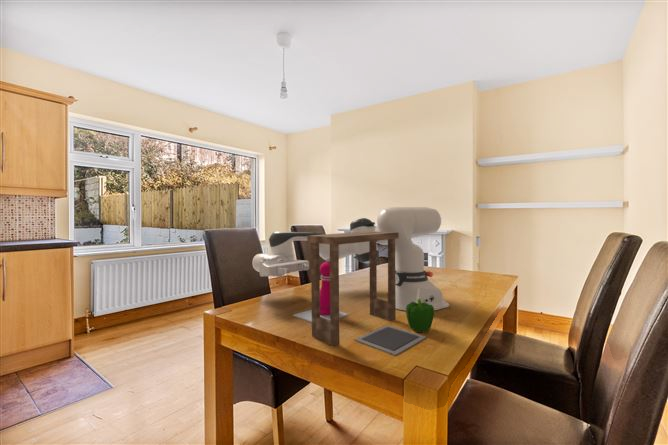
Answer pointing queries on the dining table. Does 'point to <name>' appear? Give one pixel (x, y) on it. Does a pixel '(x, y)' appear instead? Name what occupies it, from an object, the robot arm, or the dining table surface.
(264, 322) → the dining table surface
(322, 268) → the pepper mill
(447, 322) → the dining table surface
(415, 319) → the bell pepper
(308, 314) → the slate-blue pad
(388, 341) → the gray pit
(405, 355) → the dining table surface
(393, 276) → the walnut tunnel
